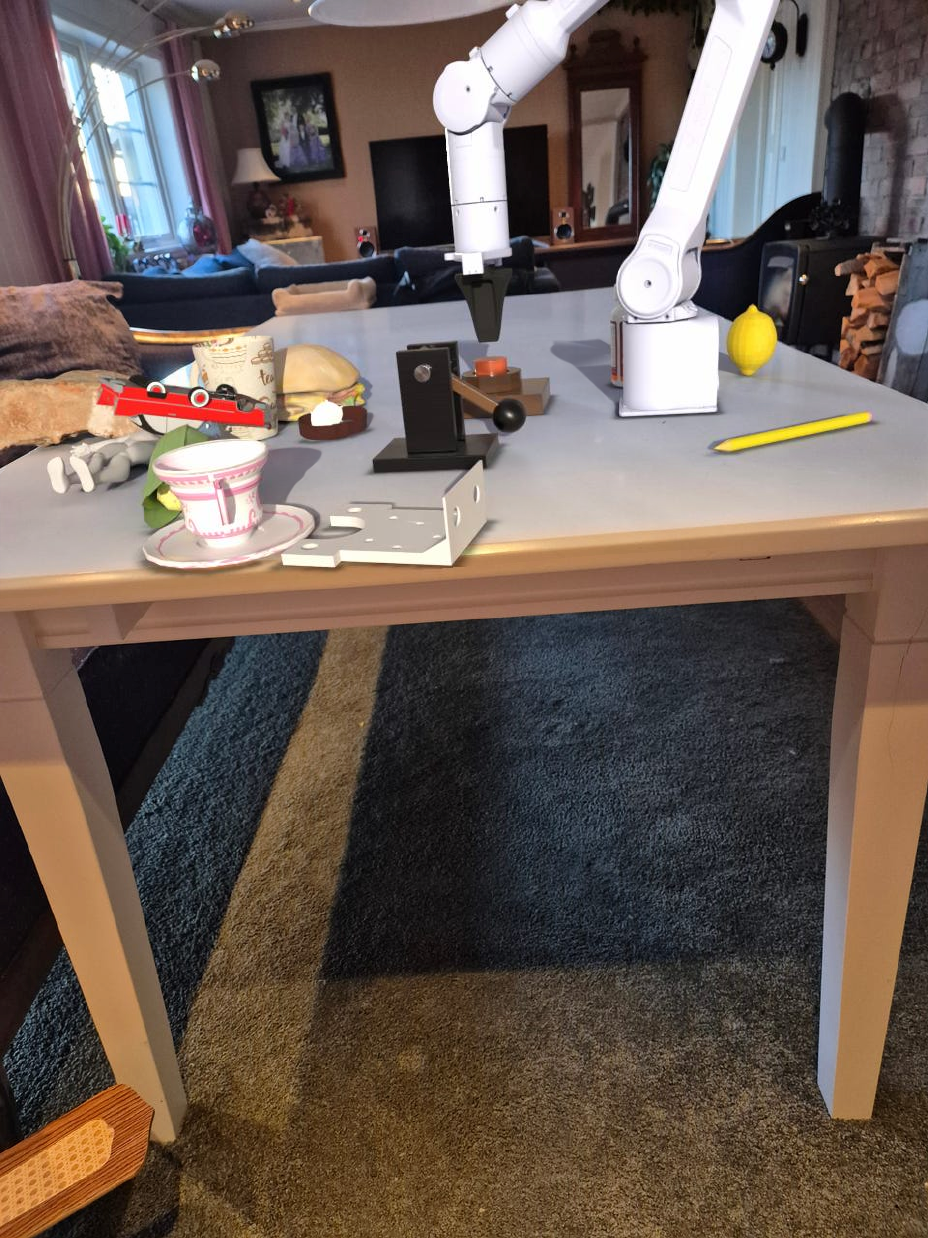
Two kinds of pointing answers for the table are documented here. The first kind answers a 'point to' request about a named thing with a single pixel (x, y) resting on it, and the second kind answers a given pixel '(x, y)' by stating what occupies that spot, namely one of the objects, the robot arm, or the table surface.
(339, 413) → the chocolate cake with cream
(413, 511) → the bracket
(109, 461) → the character figure
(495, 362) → the press button
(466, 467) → the lever stand
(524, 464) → the table surface
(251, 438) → the mug
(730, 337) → the fruit
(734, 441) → the pencil
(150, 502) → the edible corn
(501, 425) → the lever
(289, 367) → the burger
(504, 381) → the button block
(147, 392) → the toy car
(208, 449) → the teacup
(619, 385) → the pill bottle
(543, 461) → the table surface
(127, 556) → the table surface
